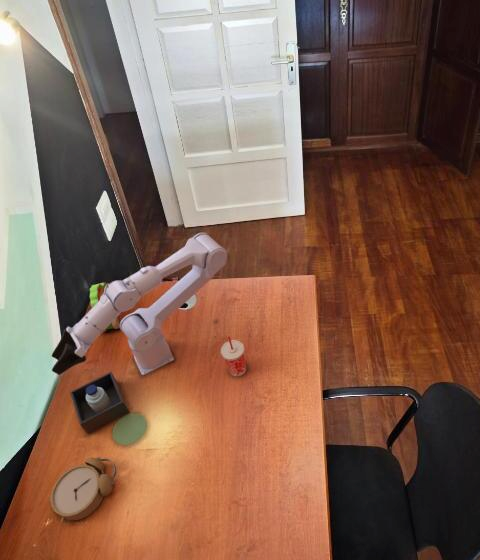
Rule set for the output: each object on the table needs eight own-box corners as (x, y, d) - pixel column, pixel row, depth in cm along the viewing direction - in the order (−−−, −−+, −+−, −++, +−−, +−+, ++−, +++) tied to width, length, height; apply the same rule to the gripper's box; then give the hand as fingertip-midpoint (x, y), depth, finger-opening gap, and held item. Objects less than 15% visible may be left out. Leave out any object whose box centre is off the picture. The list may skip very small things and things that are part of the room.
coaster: (140, 408, 125) (140, 407, 125) (151, 433, 120) (151, 433, 119) (108, 425, 122) (108, 424, 122) (118, 452, 117) (118, 451, 117)
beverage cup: (222, 375, 130) (212, 343, 120) (232, 357, 134) (223, 325, 124) (243, 381, 128) (234, 349, 118) (252, 363, 132) (245, 331, 122)
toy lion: (104, 302, 154) (86, 268, 143) (121, 299, 154) (104, 264, 144) (101, 340, 143) (81, 306, 132) (120, 336, 143) (101, 302, 132)
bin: (117, 382, 131) (111, 371, 128) (130, 412, 124) (123, 401, 121) (78, 402, 128) (69, 391, 124) (88, 434, 121) (80, 424, 117)
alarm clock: (41, 489, 109) (97, 442, 113) (54, 495, 113) (108, 449, 117) (59, 529, 102) (118, 477, 106) (72, 533, 106) (129, 483, 110)
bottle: (109, 396, 128) (97, 377, 122) (114, 409, 125) (102, 391, 119) (92, 404, 127) (79, 386, 121) (96, 418, 124) (83, 400, 118)
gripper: (79, 303, 121) (41, 343, 120) (83, 325, 108) (40, 370, 107) (102, 318, 124) (65, 358, 123) (108, 342, 112) (67, 385, 111)
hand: (55, 364), depth 116 cm, fingers open, 7 cm apart
